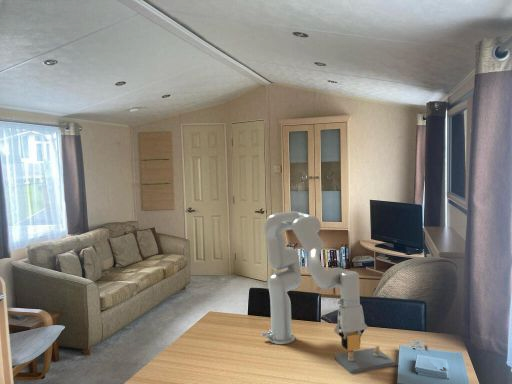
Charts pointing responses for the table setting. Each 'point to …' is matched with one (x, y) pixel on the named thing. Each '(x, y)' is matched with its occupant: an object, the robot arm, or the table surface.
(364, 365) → the terminal board
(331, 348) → the table surface
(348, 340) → the orange block
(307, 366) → the table surface
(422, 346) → the adjustable wrench
